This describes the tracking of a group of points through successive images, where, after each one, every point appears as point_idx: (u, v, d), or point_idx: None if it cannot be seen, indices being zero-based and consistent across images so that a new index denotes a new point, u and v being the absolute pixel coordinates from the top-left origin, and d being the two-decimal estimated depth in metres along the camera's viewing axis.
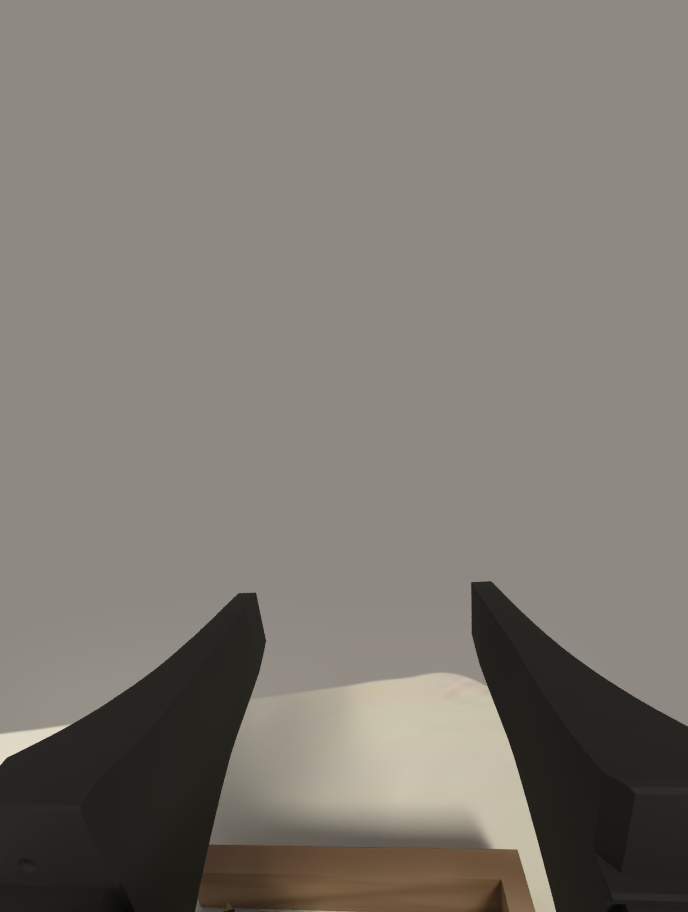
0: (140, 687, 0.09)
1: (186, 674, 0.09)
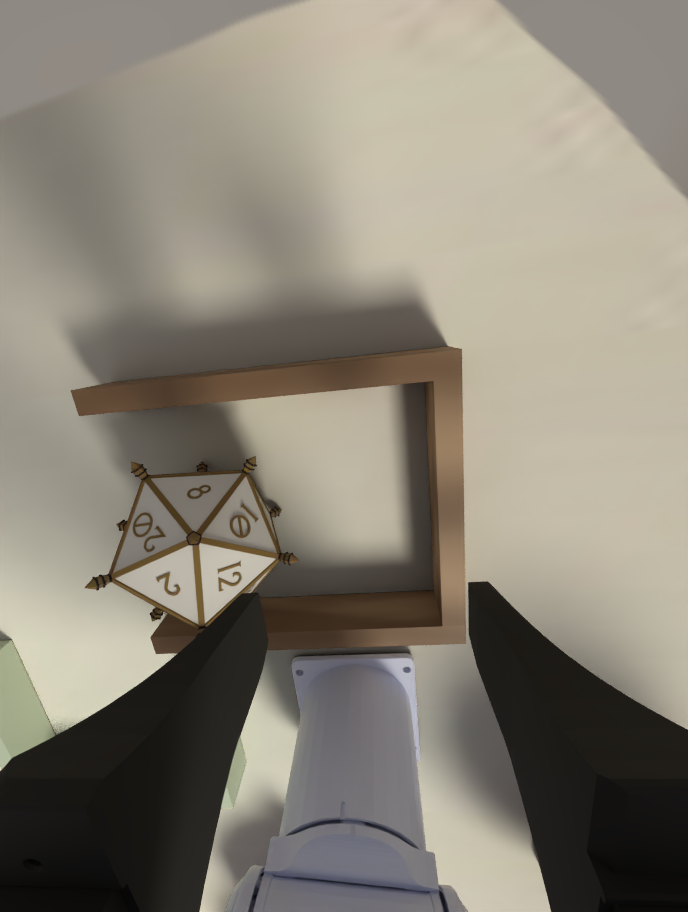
0: (145, 687, 0.09)
1: (190, 674, 0.09)
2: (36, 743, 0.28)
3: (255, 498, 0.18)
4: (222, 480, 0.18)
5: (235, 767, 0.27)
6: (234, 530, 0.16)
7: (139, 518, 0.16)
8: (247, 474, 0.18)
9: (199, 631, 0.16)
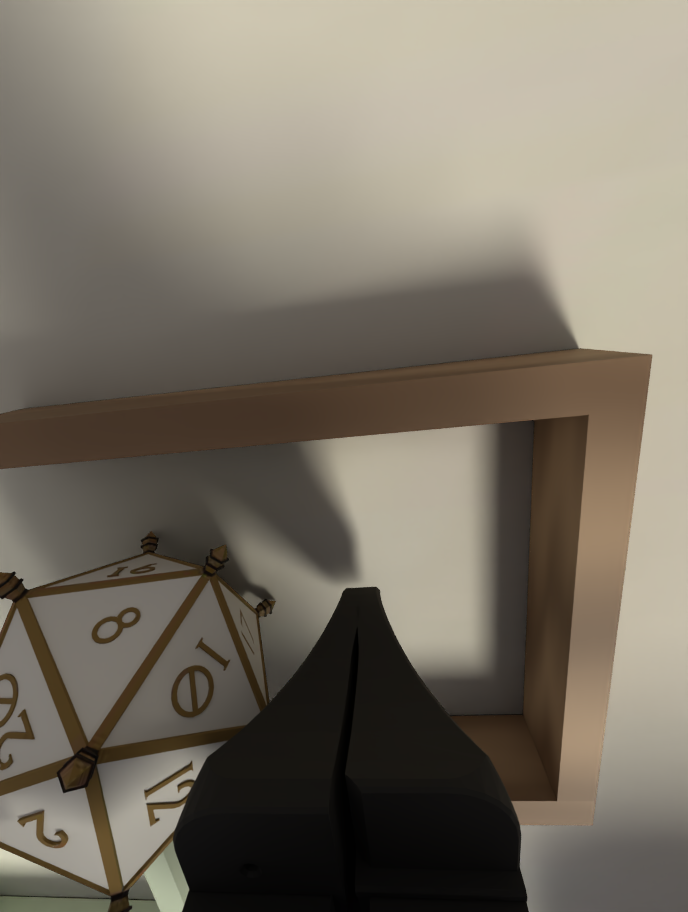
0: (299, 684, 0.08)
1: (340, 670, 0.09)
2: None
3: (226, 620, 0.10)
4: (165, 593, 0.10)
5: None
6: (180, 703, 0.09)
7: None
8: (212, 576, 0.10)
9: (111, 907, 0.08)
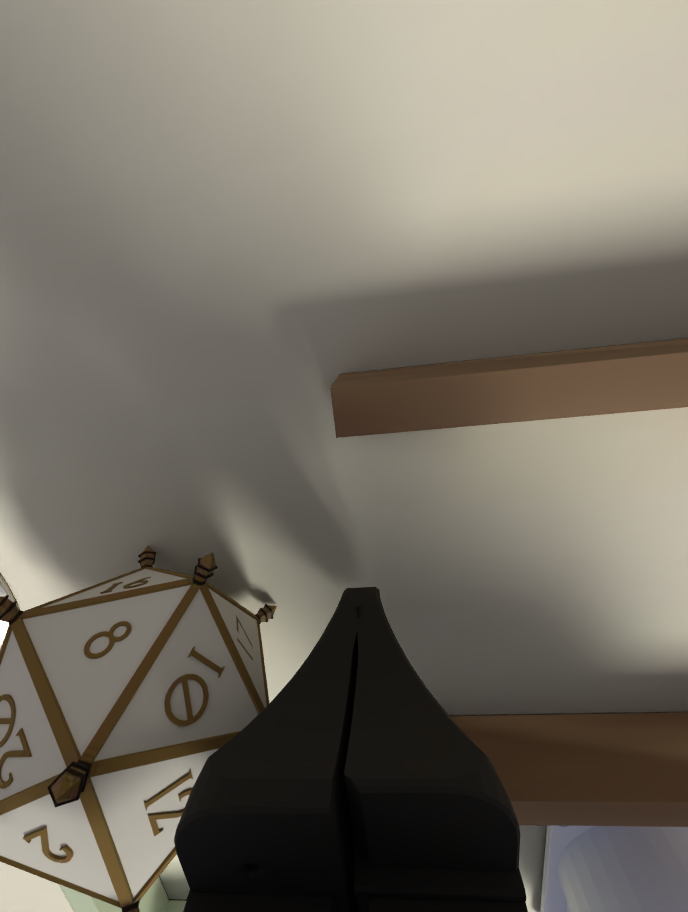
0: (300, 684, 0.08)
1: (341, 670, 0.09)
2: (141, 903, 0.19)
3: (218, 627, 0.10)
4: (156, 605, 0.10)
5: None
6: (175, 712, 0.09)
7: None
8: (202, 585, 0.10)
9: None
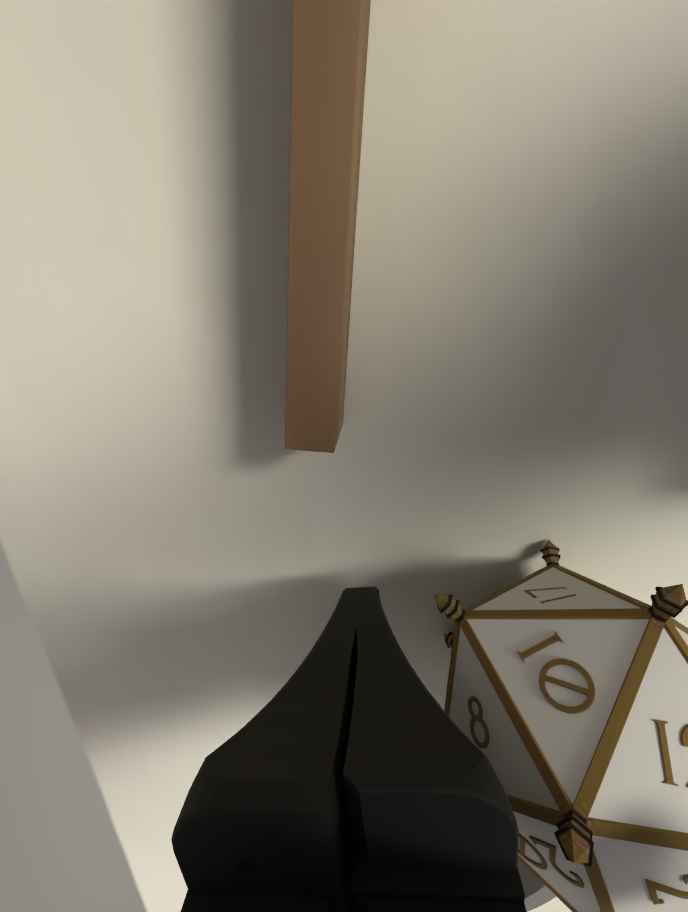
0: (298, 684, 0.08)
1: (339, 670, 0.09)
2: None
3: (512, 618, 0.10)
4: (466, 664, 0.10)
5: None
6: (573, 703, 0.08)
7: None
8: (464, 615, 0.10)
9: None
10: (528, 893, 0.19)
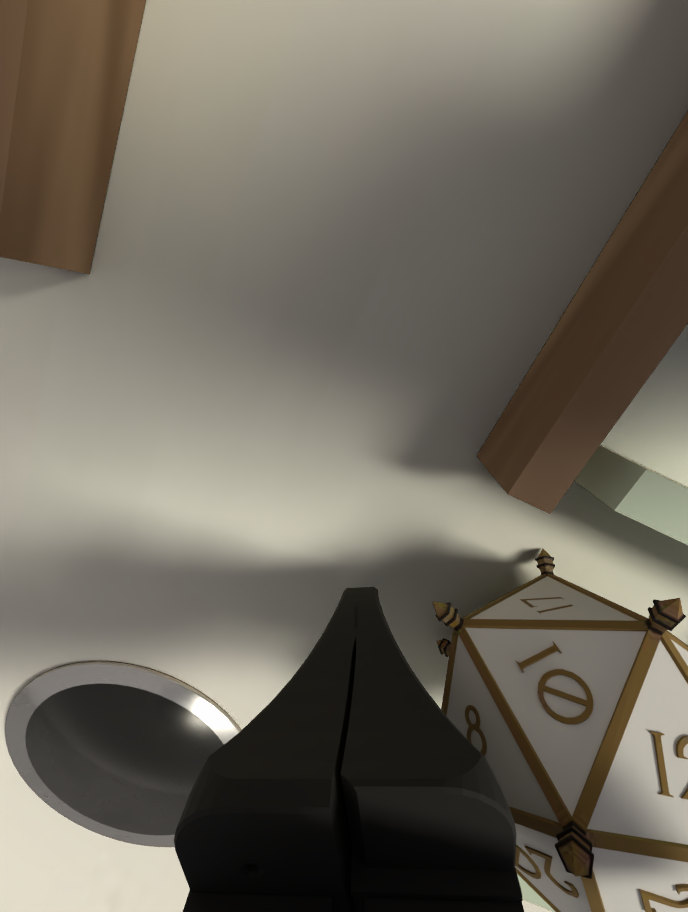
0: (299, 683, 0.08)
1: (340, 670, 0.09)
2: None
3: (511, 627, 0.10)
4: (464, 673, 0.10)
5: None
6: (571, 713, 0.08)
7: None
8: (462, 623, 0.10)
9: None
10: None
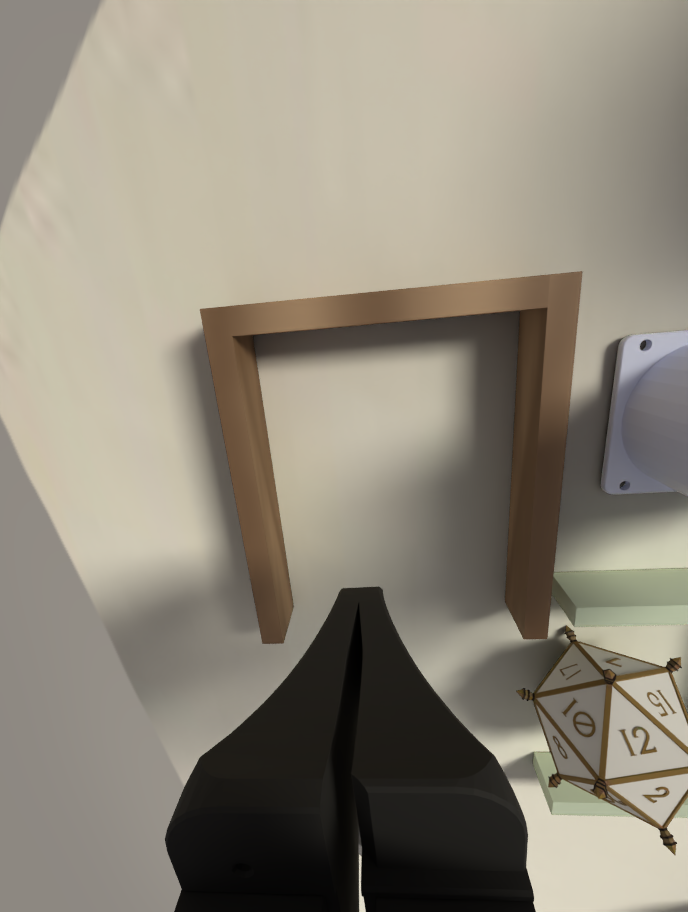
0: (293, 684, 0.08)
1: (334, 670, 0.09)
2: None
3: (555, 694, 0.20)
4: (545, 720, 0.21)
5: None
6: (589, 732, 0.19)
7: None
8: (534, 696, 0.21)
9: None
10: None
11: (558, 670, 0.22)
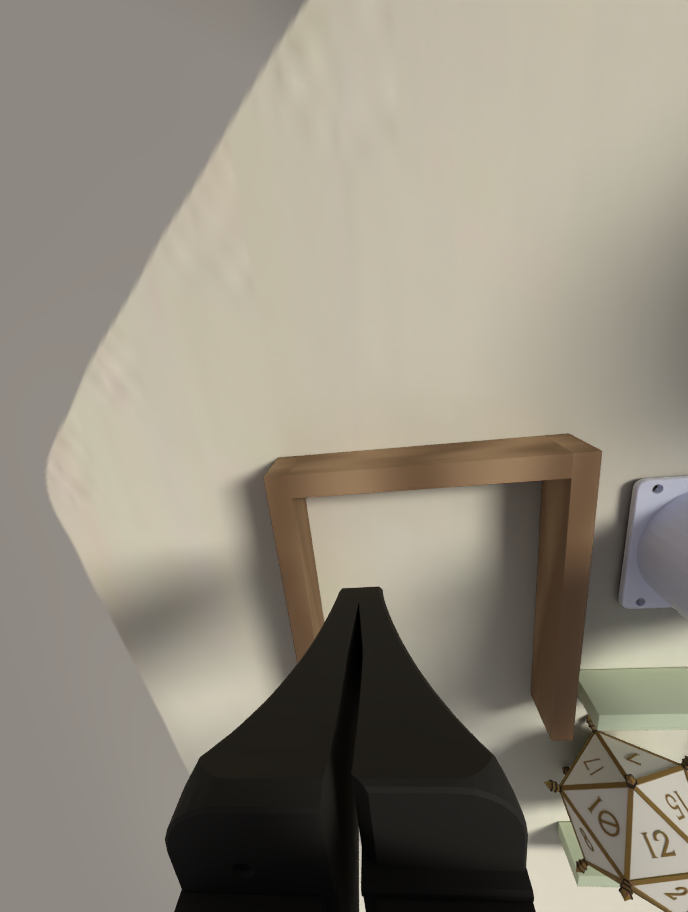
0: (294, 684, 0.08)
1: (334, 670, 0.09)
2: None
3: (580, 789, 0.22)
4: (572, 812, 0.23)
5: None
6: (613, 831, 0.21)
7: (621, 883, 0.22)
8: (561, 788, 0.23)
9: None
10: None
11: (582, 762, 0.24)
